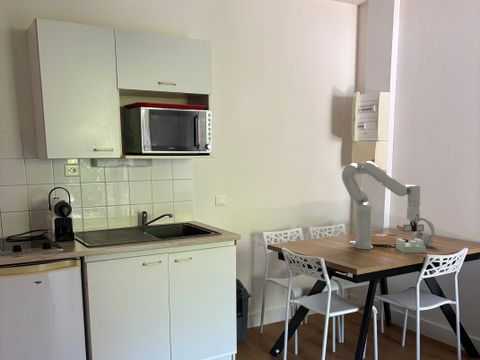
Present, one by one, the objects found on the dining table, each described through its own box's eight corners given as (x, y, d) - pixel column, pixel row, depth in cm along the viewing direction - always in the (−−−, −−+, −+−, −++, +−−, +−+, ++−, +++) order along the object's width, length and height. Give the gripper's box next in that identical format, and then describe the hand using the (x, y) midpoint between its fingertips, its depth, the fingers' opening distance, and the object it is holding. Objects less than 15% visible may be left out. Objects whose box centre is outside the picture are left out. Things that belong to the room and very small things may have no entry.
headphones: (437, 247, 268) (438, 219, 266) (428, 248, 265) (428, 220, 264) (417, 242, 286) (418, 215, 285) (408, 242, 283) (409, 216, 282)
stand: (395, 248, 267) (396, 238, 267) (417, 248, 267) (417, 238, 266) (402, 252, 255) (403, 242, 255) (425, 252, 255) (425, 242, 254)
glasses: (396, 228, 269) (396, 221, 268) (415, 228, 268) (415, 221, 268) (404, 231, 256) (404, 224, 256) (423, 231, 256) (423, 224, 255)
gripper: (403, 202, 263) (403, 228, 264) (413, 205, 248) (412, 233, 249) (414, 202, 263) (414, 228, 264) (424, 204, 248) (424, 233, 249)
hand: (413, 230), depth 257 cm, fingers closed on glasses, 1 cm apart
